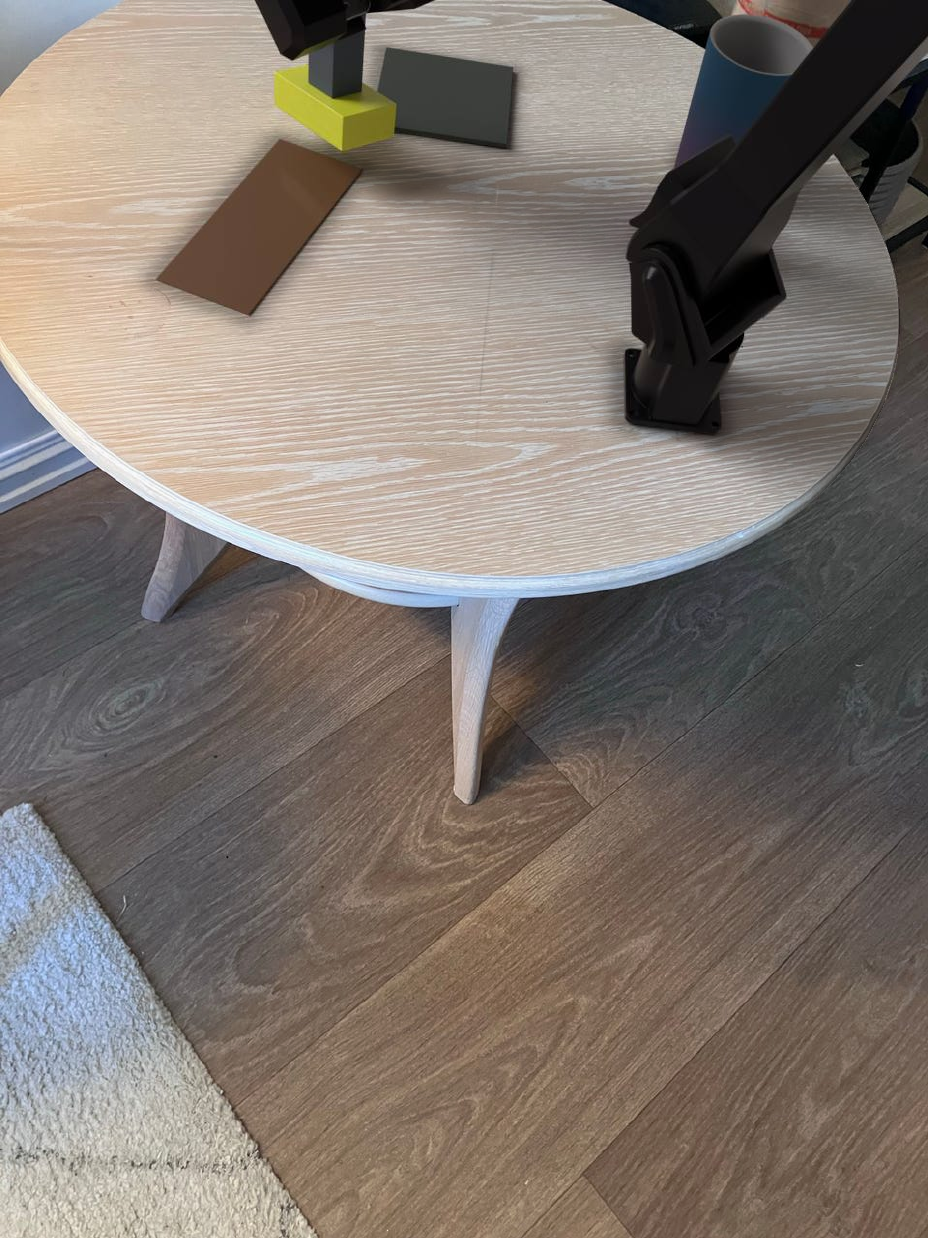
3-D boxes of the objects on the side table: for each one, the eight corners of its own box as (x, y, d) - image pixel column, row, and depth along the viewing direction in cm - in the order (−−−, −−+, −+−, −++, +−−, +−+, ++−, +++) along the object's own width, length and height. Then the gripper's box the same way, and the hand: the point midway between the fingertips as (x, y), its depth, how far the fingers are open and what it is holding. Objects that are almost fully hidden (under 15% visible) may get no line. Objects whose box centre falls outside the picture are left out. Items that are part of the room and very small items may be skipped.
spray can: (661, 147, 78) (753, -141, 60) (743, 133, 80) (853, -148, 63) (712, 211, 74) (825, -75, 57) (796, 195, 76) (929, -84, 59)
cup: (728, 222, 74) (810, 23, 61) (732, 280, 70) (820, 83, 57) (643, 208, 73) (708, 5, 60) (643, 266, 70) (712, 64, 57)
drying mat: (506, 148, 75) (507, 143, 75) (370, 127, 74) (370, 123, 74) (512, 71, 81) (513, 66, 80) (386, 51, 80) (386, 46, 80)
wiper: (341, 151, 67) (351, -82, 56) (274, 105, 70) (271, -125, 59) (394, 136, 70) (412, -89, 59) (326, 92, 73) (332, -130, 62)
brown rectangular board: (249, 316, 63) (248, 313, 63) (156, 280, 63) (155, 278, 63) (362, 170, 72) (362, 167, 72) (279, 140, 72) (279, 138, 72)
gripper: (499, -300, 54) (365, -148, 66) (242, -238, 46) (145, -79, 58) (572, -84, 58) (433, 19, 71) (350, 6, 50) (238, 104, 63)
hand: (321, 13), depth 66 cm, fingers closed on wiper, 3 cm apart
